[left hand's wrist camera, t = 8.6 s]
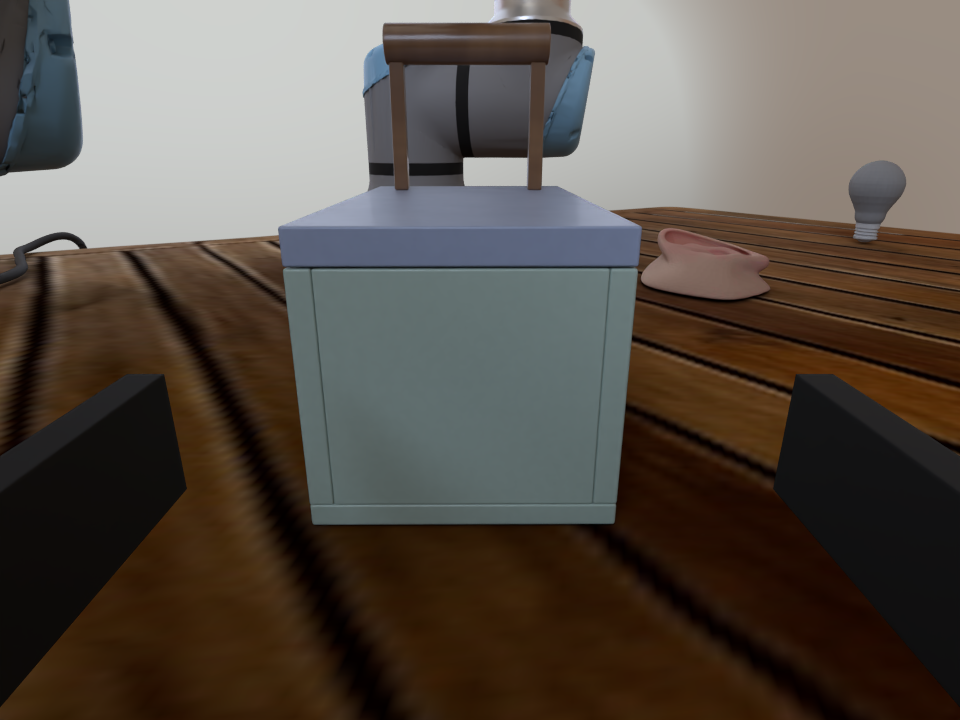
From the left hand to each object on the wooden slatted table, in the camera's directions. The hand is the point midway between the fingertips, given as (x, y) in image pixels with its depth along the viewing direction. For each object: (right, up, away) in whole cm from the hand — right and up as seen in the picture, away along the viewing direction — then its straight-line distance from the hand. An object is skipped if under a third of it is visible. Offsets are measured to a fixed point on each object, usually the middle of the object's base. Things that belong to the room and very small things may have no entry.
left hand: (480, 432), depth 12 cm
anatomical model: (+20, +9, +41) cm, 47 cm away
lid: (-1, +7, +13) cm, 14 cm away
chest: (-1, -1, +15) cm, 15 cm away
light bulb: (+50, +17, +64) cm, 83 cm away
